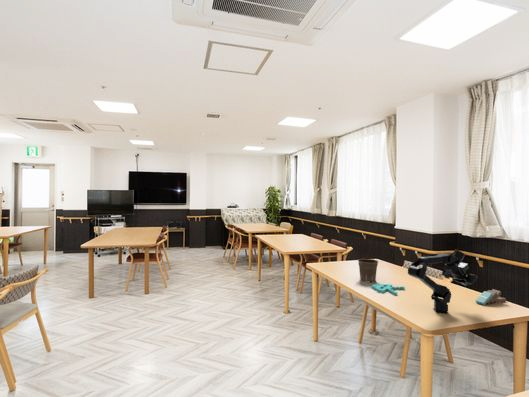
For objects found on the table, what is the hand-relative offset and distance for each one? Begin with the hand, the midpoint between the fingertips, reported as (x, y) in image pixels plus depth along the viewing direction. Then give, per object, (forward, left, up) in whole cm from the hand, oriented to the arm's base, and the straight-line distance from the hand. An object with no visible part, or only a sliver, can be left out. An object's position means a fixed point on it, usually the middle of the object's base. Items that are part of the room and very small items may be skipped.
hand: (466, 285), depth 196 cm
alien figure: (-43, +27, -14) cm, 53 cm away
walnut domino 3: (+19, +13, -13) cm, 27 cm away
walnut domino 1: (+14, +9, -13) cm, 21 cm away
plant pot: (-54, +52, -14) cm, 77 cm away
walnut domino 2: (+17, +12, -12) cm, 24 cm away
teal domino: (+10, +7, -13) cm, 18 cm away
